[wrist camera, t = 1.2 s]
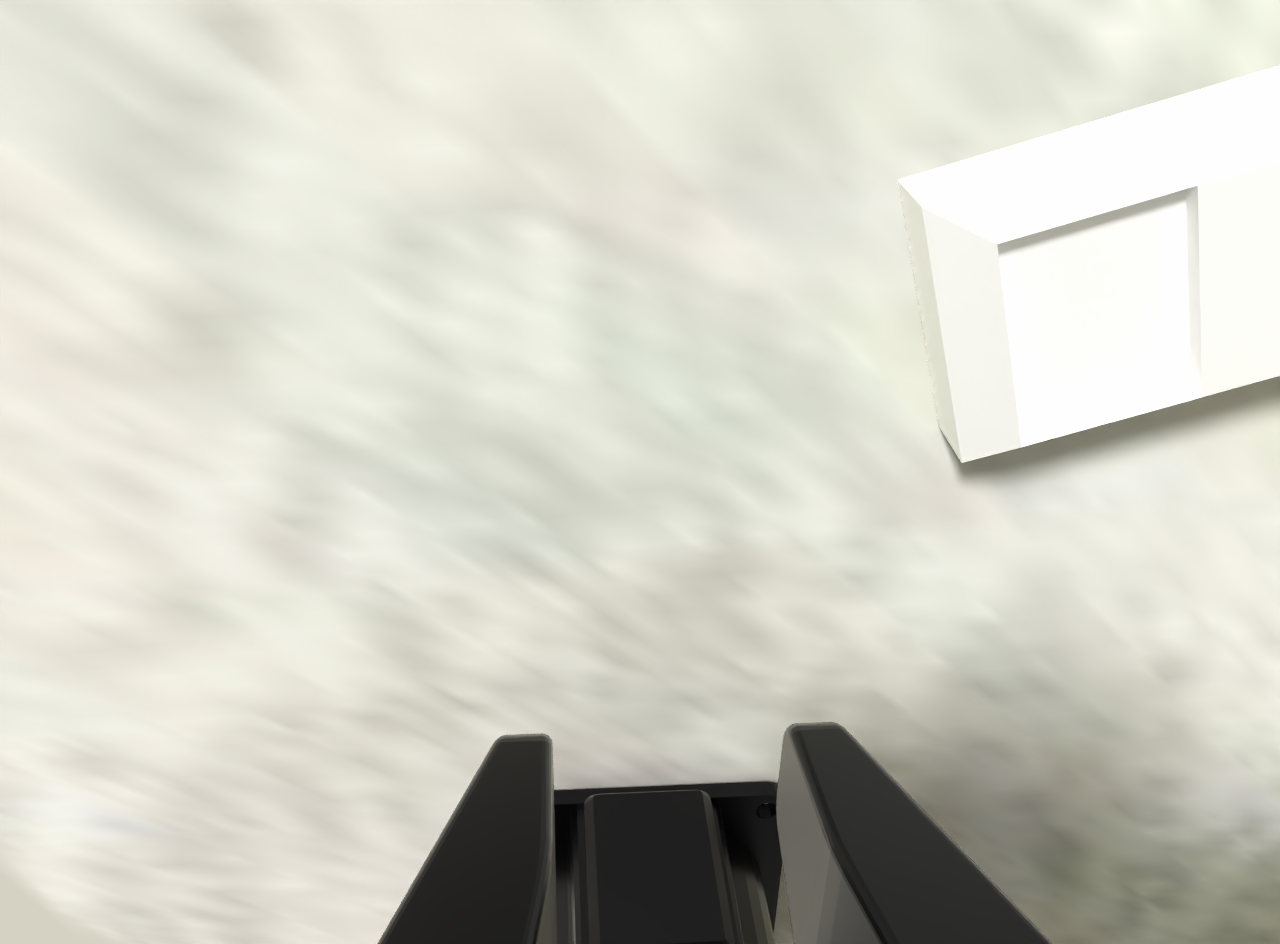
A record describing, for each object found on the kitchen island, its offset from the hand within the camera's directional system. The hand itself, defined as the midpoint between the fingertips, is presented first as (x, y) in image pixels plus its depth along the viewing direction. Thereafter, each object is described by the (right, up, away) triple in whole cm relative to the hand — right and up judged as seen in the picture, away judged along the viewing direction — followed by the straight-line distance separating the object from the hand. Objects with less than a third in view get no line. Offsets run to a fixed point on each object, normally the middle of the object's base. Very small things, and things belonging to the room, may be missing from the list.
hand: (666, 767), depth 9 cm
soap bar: (+9, +7, +11) cm, 16 cm away
